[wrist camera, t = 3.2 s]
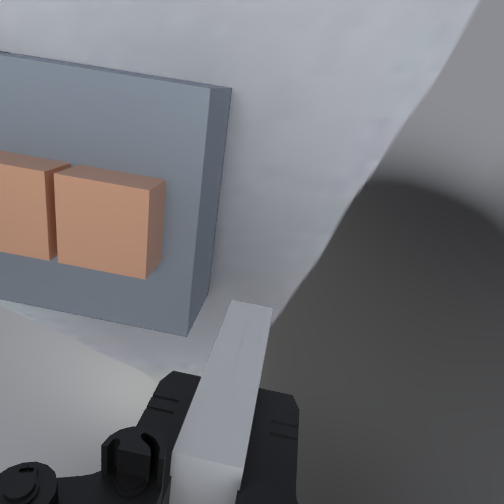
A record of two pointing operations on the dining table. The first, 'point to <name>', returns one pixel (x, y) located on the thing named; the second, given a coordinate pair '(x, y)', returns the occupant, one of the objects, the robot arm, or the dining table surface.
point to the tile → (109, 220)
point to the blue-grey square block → (123, 160)
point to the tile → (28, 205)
